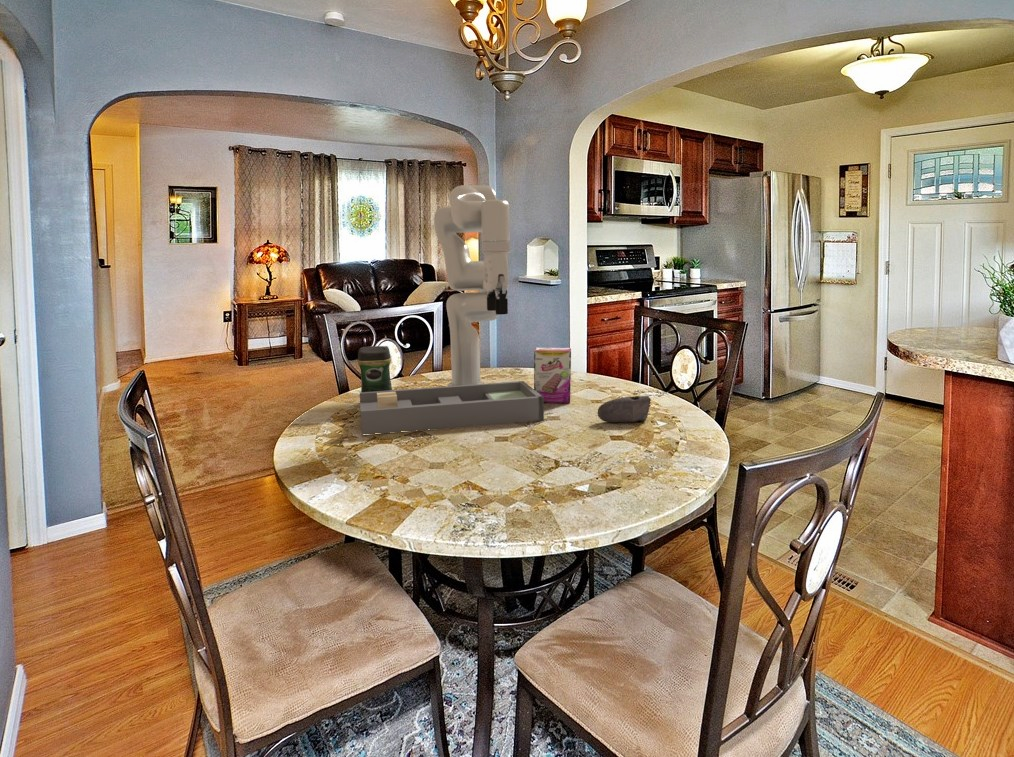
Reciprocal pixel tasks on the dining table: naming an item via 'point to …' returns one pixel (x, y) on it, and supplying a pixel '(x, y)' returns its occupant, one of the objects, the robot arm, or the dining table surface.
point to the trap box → (452, 407)
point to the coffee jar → (374, 368)
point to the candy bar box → (553, 374)
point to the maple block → (387, 400)
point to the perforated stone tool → (625, 409)
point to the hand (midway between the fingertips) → (497, 312)
